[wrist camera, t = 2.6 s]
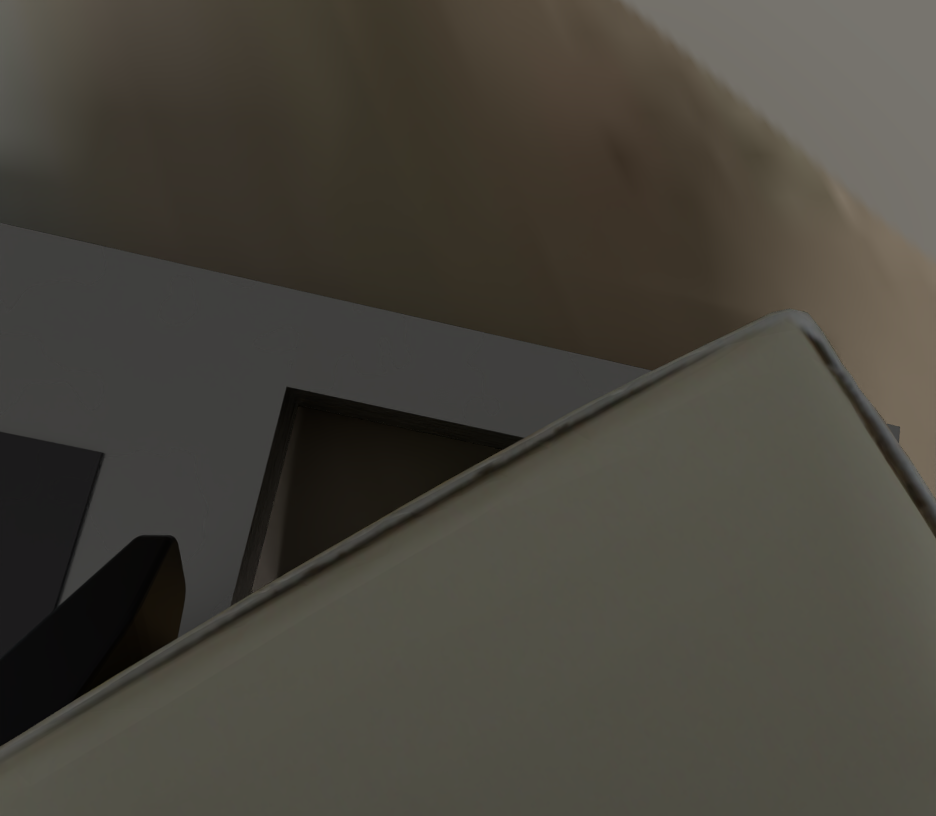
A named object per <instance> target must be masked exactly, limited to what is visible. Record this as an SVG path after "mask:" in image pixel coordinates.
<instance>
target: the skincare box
mask: <svg viewBox="0 0 936 816" xmlns="http://www.w3.org/2000/svg"><path fill="white" fill-rule="evenodd" d="M0 816H936V499H935V498H934V496H933V494H932V493H931V491H930V490H929V488H928V487H927V485H926V484H925V482H924V480H923V479H922V477H921V476H920V474H919V473H918V471H917V469H916V468H915V466H914V465H913V463H912V461H911V460H910V458H909V457H908V455H907V454H906V452H905V451H904V450H903V448H902V447H901V446H900V445H899V443H898V442H897V440H896V438H895V437H894V435H893V433H892V432H891V430H890V429H889V427H888V425H887V424H886V422H885V421H884V419H883V418H882V417H881V415H880V414H879V413H878V412H877V410H876V409H875V408H874V406H873V405H872V404H871V403H870V401H869V400H868V399H867V398H866V396H865V395H864V394H863V393H862V391H861V390H860V389H859V388H858V386H857V384H856V382H855V381H854V379H853V377H852V376H851V374H850V373H849V372H848V371H847V369H846V368H845V367H844V365H843V364H842V362H841V361H840V359H839V357H838V356H837V354H836V352H835V351H834V349H833V347H832V346H831V344H830V342H829V341H828V339H827V338H826V336H825V335H824V333H823V332H822V330H821V329H820V327H819V326H818V325H817V324H816V322H815V321H814V320H813V319H812V317H811V316H810V315H809V314H808V313H807V312H804V311H799V310H794V309H786V310H781V311H777V312H772V313H770V314H768V315H766V316H764V317H762V318H759V319H757V320H755V321H753V322H751V323H749V324H747V325H745V326H743V327H741V328H739V329H737V330H735V331H733V332H731V333H729V334H727V335H725V336H723V337H721V338H718V339H716V340H714V341H712V342H710V343H708V344H706V345H704V346H702V347H700V348H698V349H696V350H694V351H692V352H689V353H687V354H685V355H683V356H681V357H679V358H677V359H675V360H673V361H671V362H669V363H667V364H665V365H663V366H661V367H659V368H657V369H655V370H653V371H651V372H649V373H647V374H644V375H642V376H640V377H638V378H636V379H634V380H633V381H631V382H629V383H627V384H625V385H623V386H621V387H619V388H617V389H615V390H613V391H611V392H609V393H607V394H605V395H603V396H601V397H599V398H597V399H595V400H593V401H591V402H589V403H587V404H585V405H583V406H582V407H580V408H578V409H576V410H574V411H572V412H570V413H568V414H567V415H565V416H563V417H561V418H559V419H558V420H556V421H554V422H552V423H550V424H549V425H547V426H545V427H543V428H541V429H540V430H538V431H536V432H534V433H532V434H531V435H529V436H527V437H525V438H524V439H522V440H520V441H518V442H516V443H514V444H513V445H511V446H509V447H507V448H505V449H503V450H502V451H500V452H498V453H496V454H494V455H493V456H491V457H489V458H487V459H485V460H483V461H482V462H480V463H478V464H476V465H474V466H472V467H471V468H469V469H467V470H465V471H463V472H462V473H460V474H458V475H456V476H454V477H452V478H451V479H449V480H447V481H445V482H443V483H442V484H440V485H438V486H436V487H435V488H433V489H431V490H429V491H428V492H426V493H424V494H422V495H421V496H419V497H417V498H416V499H414V500H412V501H410V502H409V503H407V504H405V505H403V506H402V507H400V508H398V509H396V510H395V511H393V512H391V513H390V514H388V515H386V516H384V517H383V518H381V519H379V520H377V521H376V522H374V523H372V524H371V525H369V526H367V527H365V528H364V529H362V530H360V531H358V532H357V533H355V534H353V535H351V536H350V537H348V538H346V539H345V540H343V541H341V542H339V543H338V544H336V545H334V546H332V547H331V548H329V549H327V550H325V551H324V552H322V553H320V554H319V555H317V556H315V557H313V558H312V559H310V560H308V561H306V562H305V563H303V564H301V565H300V566H298V567H296V568H295V569H293V570H291V571H289V572H288V573H286V574H284V575H283V576H281V577H279V578H277V579H276V580H274V581H272V582H271V583H269V584H267V585H266V586H264V587H262V588H260V589H259V590H257V591H255V592H254V593H252V594H250V595H249V596H247V597H245V598H244V599H242V600H240V601H239V602H237V603H235V604H234V605H232V606H231V607H229V608H227V609H226V610H224V611H222V612H221V613H219V614H217V615H216V616H214V617H212V618H211V619H209V620H207V621H206V622H204V623H202V624H201V625H199V626H197V627H196V628H194V629H192V630H191V631H189V632H187V633H186V634H184V635H182V636H181V637H179V638H177V639H176V640H174V641H172V642H171V643H169V644H167V645H166V646H164V647H162V648H160V649H159V650H157V651H155V652H154V653H152V654H150V655H149V656H147V657H145V658H144V659H142V660H140V661H139V662H137V663H135V664H134V665H132V666H130V667H129V668H127V669H125V670H124V671H122V672H120V673H119V674H117V675H115V676H114V677H112V678H110V679H109V680H107V681H105V682H104V683H102V684H101V685H99V686H97V687H96V688H94V689H92V690H91V691H89V692H87V693H86V694H84V695H83V696H81V697H79V698H78V699H76V700H74V701H73V702H71V703H70V704H68V705H66V706H65V707H63V708H62V709H60V710H59V711H57V712H55V713H54V714H52V715H51V716H49V717H47V718H46V719H44V720H43V721H41V722H39V723H38V724H36V725H35V726H33V727H32V728H30V729H28V730H27V731H25V732H24V733H22V734H20V735H19V736H17V737H15V738H14V739H12V740H10V741H9V742H7V743H5V744H4V745H2V746H0Z"/></svg>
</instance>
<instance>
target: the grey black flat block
mask: <svg viewBox="0 0 936 816" xmlns="http://www.w3.org/2000/svg"><path fill="white" fill-rule="evenodd" d="M651 371H652V370H647V369H643V368H638V367H634V366H630V365H625V364H621V363H616V362H612V361H608V360H603V359H599V358H594V357H590V356H585V355H581V354H577V353H572V352H568V351H563V350H559V349H555V348H550V347H546V346H541V345H537V344H533V343H528V342H524V341H519V340H515V339H511V338H506V337H502V336H497V335H493V334H488V333H484V332H480V331H475V330H471V329H466V328H462V327H458V326H453V325H449V324H444V323H440V322H436V321H431V320H427V319H422V318H418V317H413V316H409V315H405V314H400V313H396V312H391V311H387V310H383V309H378V308H374V307H369V306H365V305H361V304H356V303H352V302H347V301H343V300H339V299H334V298H330V297H325V296H321V295H316V294H312V293H308V292H303V291H299V290H294V289H290V288H286V287H281V286H277V285H272V284H268V283H264V282H259V281H255V280H250V279H246V278H242V277H237V276H233V275H228V274H224V273H219V272H215V271H211V270H206V269H202V268H197V267H193V266H189V265H184V264H180V263H175V262H171V261H167V260H162V259H158V258H153V257H149V256H144V255H140V254H136V253H131V252H127V251H122V250H118V249H114V248H109V247H105V246H100V245H96V244H92V243H87V242H83V241H78V240H74V239H70V238H65V237H61V236H56V235H52V234H47V233H43V232H39V231H34V230H30V229H25V228H21V227H17V226H12V225H8V224H3V223H0V658H1V657H2V656H3V655H4V654H5V653H6V652H8V651H9V650H10V649H11V648H12V647H13V646H14V645H15V644H17V643H18V642H19V641H20V640H21V639H22V638H23V637H24V636H25V635H27V634H28V633H29V632H30V631H31V630H32V629H33V628H34V627H36V626H37V625H38V624H39V623H40V622H41V621H42V620H43V619H45V618H46V617H47V616H48V615H49V614H50V613H51V612H52V611H53V610H55V609H56V608H57V607H58V606H59V605H60V604H61V603H62V602H64V601H65V600H66V599H67V598H68V597H69V596H70V595H71V594H73V593H74V592H75V591H76V590H77V589H78V588H79V587H80V586H82V585H83V584H84V583H85V582H86V581H87V580H88V579H89V578H90V577H92V576H93V575H94V574H95V573H96V572H97V571H98V570H99V569H101V568H102V567H103V566H104V565H105V564H106V563H107V562H108V561H110V560H111V559H112V558H113V557H114V556H115V555H116V554H117V553H118V552H120V551H121V550H122V549H123V548H124V547H125V546H126V545H127V544H129V543H130V542H131V541H132V540H133V539H134V538H136V537H138V536H140V535H171V536H173V537H175V538H176V540H177V542H178V545H179V550H180V555H181V561H182V566H183V572H184V577H185V583H186V596H185V603H184V609H183V614H182V619H181V624H180V629H179V634H178V638H179V637H181V636H182V635H184V634H186V633H187V632H189V631H191V630H192V629H194V628H196V627H197V626H199V625H201V624H202V623H204V622H206V621H207V620H209V619H211V618H212V617H214V616H216V615H217V614H219V613H221V612H222V611H224V610H226V609H227V608H229V607H231V606H232V605H234V604H235V603H237V602H239V601H240V600H242V599H244V598H245V597H247V596H249V595H250V594H251V590H252V586H253V582H254V578H255V574H256V570H257V566H258V562H259V558H260V554H261V550H262V546H263V542H264V538H265V534H266V530H267V526H268V522H269V518H270V514H271V510H272V506H273V502H274V498H275V494H276V490H277V486H278V482H279V478H280V474H281V470H282V466H283V463H284V459H285V455H286V451H287V447H288V443H289V439H290V435H291V431H292V427H293V423H294V419H295V415H296V411H297V407H298V406H303V407H308V408H312V409H317V410H322V411H327V412H331V413H336V414H341V415H345V416H350V417H355V418H359V419H364V420H369V421H373V422H378V423H383V424H387V425H392V426H397V427H401V428H406V429H411V430H415V431H420V432H425V433H429V434H434V435H439V436H443V437H448V438H453V439H457V440H462V441H467V442H471V443H476V444H481V445H485V446H490V447H495V448H499V449H505V448H507V447H509V446H511V445H513V444H514V443H516V442H518V441H520V440H522V439H524V438H525V437H527V436H529V435H531V434H532V433H534V432H536V431H538V430H540V429H541V428H543V427H545V426H547V425H549V424H550V423H552V422H554V421H556V420H558V419H559V418H561V417H563V416H565V415H567V414H568V413H570V412H572V411H574V410H576V409H578V408H580V407H582V406H583V405H585V404H587V403H589V402H591V401H593V400H595V399H597V398H599V397H601V396H603V395H605V394H607V393H609V392H611V391H613V390H615V389H617V388H619V387H621V386H623V385H625V384H627V383H629V382H631V381H633V380H634V379H636V378H638V377H640V376H642V375H644V374H647V373H649V372H651ZM887 425H888V427H889V429H890V430H891V432H892V433H893V435H894V437H895V438H896V440H897V442H898V443H899V434H900V427H899V426H894V425H890V424H887Z"/></svg>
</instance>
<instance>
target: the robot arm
mask: <svg viewBox="0 0 936 816" xmlns="http://www.w3.org/2000/svg"><path fill="white" fill-rule="evenodd" d="M185 596H186V583H185V577H184V572H183V566H182V561H181V555H180V550H179V545H178V542H177V540H176V538H175V537H173V536H171V535H140V536H138V537H136V538H134V539H133V540H132V541H131V542H130V543H129V544H127V545H126V546H125V547H124V548H123V549H122V550H121V551H120V552H118V553H117V554H116V555H115V556H114V557H113V558H112V559H111V560H110V561H108V562H107V563H106V564H105V565H104V566H103V567H102V568H101V569H99V570H98V571H97V572H96V573H95V574H94V575H93V576H92V577H90V578H89V579H88V580H87V581H86V582H85V583H84V584H83V585H82V586H80V587H79V588H78V589H77V590H76V591H75V592H74V593H73V594H71V595H70V596H69V597H68V598H67V599H66V600H65V601H64V602H62V603H61V604H60V605H59V606H58V607H57V608H56V609H55V610H53V611H52V612H51V613H50V614H49V615H48V616H47V617H46V618H45V619H43V620H42V621H41V622H40V623H39V624H38V625H37V626H36V627H34V628H33V629H32V630H31V631H30V632H29V633H28V634H27V635H25V636H24V637H23V638H22V639H21V640H20V641H19V642H18V643H17V644H15V645H14V646H13V647H12V648H11V649H10V650H9V651H8V652H6V653H5V654H4V655H3V656H2V657H1V658H0V746H2V745H4V744H5V743H7V742H9V741H10V740H12V739H14V738H15V737H17V736H19V735H20V734H22V733H24V732H25V731H27V730H28V729H30V728H32V727H33V726H35V725H36V724H38V723H39V722H41V721H43V720H44V719H46V718H47V717H49V716H51V715H52V714H54V713H55V712H57V711H59V710H60V709H62V708H63V707H65V706H66V705H68V704H70V703H71V702H73V701H74V700H76V699H78V698H79V697H81V696H83V695H84V694H86V693H87V692H89V691H91V690H92V689H94V688H96V687H97V686H99V685H101V684H102V683H104V682H105V681H107V680H109V679H110V678H112V677H114V676H115V675H117V674H119V673H120V672H122V671H124V670H125V669H127V668H129V667H130V666H132V665H134V664H135V663H137V662H139V661H140V660H142V659H144V658H145V657H147V656H149V655H150V654H152V653H154V652H155V651H157V650H159V649H160V648H162V647H164V646H166V645H167V644H169V643H171V642H172V641H174V640H176V639H177V638H178V634H179V629H180V624H181V619H182V614H183V609H184V603H185Z"/></svg>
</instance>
